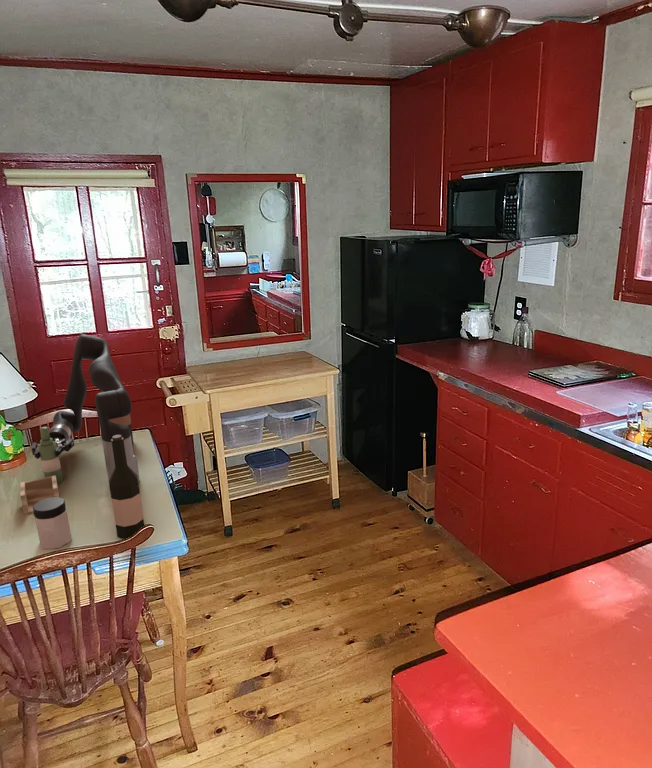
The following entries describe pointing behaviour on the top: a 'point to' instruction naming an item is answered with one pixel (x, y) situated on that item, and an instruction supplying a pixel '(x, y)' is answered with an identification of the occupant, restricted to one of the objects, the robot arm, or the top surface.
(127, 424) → the travel mug
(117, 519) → the wine bottle
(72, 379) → the robot arm
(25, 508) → the cradle
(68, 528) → the jar
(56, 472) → the green bottle
